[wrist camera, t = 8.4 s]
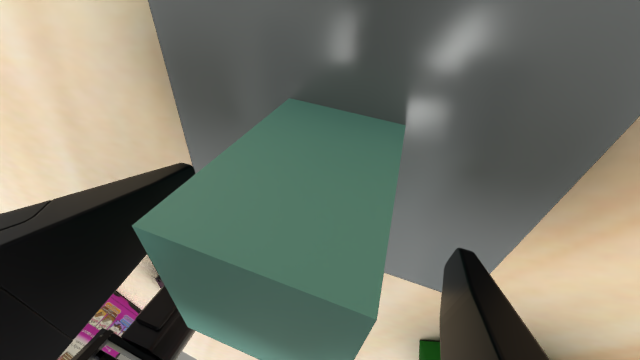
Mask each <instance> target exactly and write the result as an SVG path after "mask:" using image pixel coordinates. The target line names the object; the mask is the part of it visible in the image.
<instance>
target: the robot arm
mask: <svg viewBox="0 0 640 360" xmlns="http://www.w3.org/2000/svg"><path fill="white" fill-rule="evenodd" d="M195 174H196V173H195V169H194V167H193V166H191V165H188V164H185V163H178V164H175V165H171V166H168V167H164V168H161V169H157V170H154V171H150V172H147V173H143V174H140V175H136V176H133V177H129V178H126V179H122V180H119V181H115V182H112V183H108V184H105V185H102V186H98V187H95V188H91V189H88V190H84V191H81V192H77V193H74V194H70V195H67V196H63V197H60V198H56V199H53V200H52V201H51V200H49V201H46V202H42V203H39V204H35V205H32V206H28V207H24V208H21V209H17V210H13V211H10V212H6V213H2V214H0V360H57V359H58V358H59V357H60V356H61V355H62V353H63V352H64V351H65V350H66V349H67V347H68V346H69V345H70V344H71V343H72V342H73V339H75V338H76V337H77V335H78V334H79V333H80V332H81V331H82V330H83V328H84V327H85V326H86V325H87V324H88V323H89V321H90V320H91V319H92V318H93V317H94V316H95V314H96V313H97V312H98V311H99V310H100V309H101V307H102V306H103V305H104V304H105V303H106V301H107V300H108V299H109V298H110V297H111V296H112V294H113V293H114V292H115V291H116V290H117V289H118V287H119V286H120V285H121V284H122V283H123V282H124V280H125V279H126V278H127V277H128V276H129V275H130V273H131V272H132V271H133V270H134V269H135V268H136V266H137V265H138V264H139V263H140V262H141V260H142V259H143V258H144V257H145V256H146V255H147V252H146V251H145V249H144V247H143V245H142V243H141V241H140V240H139V238H138V236H137V234H136V232H135V231H134V229H133V227H132V225H133V224H134V223H136V222H137V221H138V220H139V219H141V218H142V217H143V216H144V215H146V214H147V213H148V212H149V211H150V210H152V209H153V208H154V207H155V206H157V205H158V204H159V203H160V202H162V201H163V200H164V199H165V198H167V197H168V196H169V195H170V194H171V193H173V192H174V191H175V190H176V189H178V188H179V187H180V186H181V185H183V184H184V183H185V182H186V181H188V180H189V179H190V178H191V177H193V176H194V175H195ZM156 281H157V283H158V284H159V286H160V288H161V289H160V291H159V292H158V293H157V294H156V295H155V296H154V297H153V298H152V300H151V301H150V302H149V303H148V304H147V305H146V306H145V308H144V309H143V310H142V311H141V312H140V313H139V314H138V316H137V317H136V318H135V320H134V321H133V323H132V324H131V325H130V326H129V327H128V328H127V329H126V331H125V332H124V333H123V334H122V335H121V337H122V338H121V337H120V336H118V335H116V334H115V333H114V331H112V330H111V329H109V330H107V329H104V328H102V329H101V330H100V331H99V332H98V333H97V334H96V335H95V336H94V337H93V338H92V339H91V340H90V341H89V342H88V343H87V344H86V345H85V346H84V347H83V348H82V349H81V350H80V351H79V352H78V353H77V354H76V355H75V356H74V357H73V358H72V359H71V360H118V359H117V358H115V357H113V356H111V355H110V354H108V353H106V352H105V351H103V350H102V349H103V348H104V346H105V345H107V346H109V347H110V348H112V349H114V350H115V351H117V352H119V353H120V354H122V355H124V356H126V357H127V358H129V359H131V360H176V359H177V357H178V356H179V354H180V353H181V352H182V350H183V349H184V347H185V346H186V344H187V343H188V341H189V340H190V338H191V337H192V335H193V334H194V332H195V330H193V329H191V328H189V327H187V325H186V323H185V321H184V319H183V318H182V316H181V314H180V312H179V310H178V308H177V307H176V305H175V303H174V301H173V299H172V298H171V296H170V294H169V292H168V290H167V289H166V287H165V285H164V283H163V281H162V280H161V278H160V276H159V275H158V276H157V277H156ZM440 350H441V360H550V359H549V358H548V356H547V355H546V354H545V352H544V351H543V349H542V348H541V346H540V345H539V344H538V342H537V341H536V339H535V338H534V337H533V335H532V334H531V332H530V331H529V329H528V328H527V327H526V325H525V324H524V322H523V321H522V319H521V318H520V317H519V315H518V314H517V312H516V311H515V310H514V308H513V307H512V305H511V304H510V302H509V301H508V300H507V298H506V297H505V295H504V294H503V292H502V291H501V290H500V288H499V287H498V285H497V284H496V283H495V281H494V280H493V278H492V277H491V275H490V274H489V273H488V271H487V270H486V268H485V267H484V265H483V264H482V263H481V261H480V260H479V258H478V257H477V256H476V254H475V253H474V252H472V251H470V250H467V249H463V248H457V249H456V250H455V251H454V252H453V254H452V255H451V257H450V258H449V259H448V261H447V262H446V264H445V267H444V274H443V285H442V297H441V308H440Z"/></svg>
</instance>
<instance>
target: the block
mask: <svg viewBox="0 0 640 360" xmlns="http://www.w3.org/2000/svg"><path fill="white" fill-rule="evenodd" d="M405 127H406V125H402V124H398V123H394V122H389V121H385V120H381V119H377V118H372V117H368V116H364V115H359V114H355V113H351V112H347V111H342V110H338V109H334V108H330V107H325V106H321V105H317V104H312V103H308V102H304V101H300V100H295V99H291V98H289V99H288V100H286V101H285V102H284V103H283V104H282V105H280V106H279V107H278V108H277V109H275V110H274V111H273V112H272V113H270V114H269V115H268V116H267V117H265V118H264V119H263V120H262V121H261V122H259V123H258V124H257V125H256V126H254V127H253V128H252V129H251V130H249V131H248V132H247V133H246V134H244V135H243V136H242V137H241V138H240V139H238V140H237V141H236V142H235V143H233V144H232V145H231V146H230V147H228V148H227V149H226V150H225V151H223V152H222V153H221V154H220V155H218V156H217V157H216V158H215V159H214V160H212V161H211V162H210V163H209V164H207V165H206V166H205V167H204V168H202V169H201V170H200V171H199V172H197V173H196V174H195V175H194V176H193V177H191V178H190V179H189V180H188V181H186V182H185V183H184V184H183V185H181V186H180V187H179V188H178V189H176V190H175V191H174V192H173V193H171V194H170V195H169V196H168V197H167V198H165V199H164V200H163V201H162V202H160V203H159V204H158V205H157V206H155V207H154V208H153V209H152V210H150V211H149V212H148V213H147V214H146V215H144V216H143V217H142V218H141V219H139V220H138V221H137V222H136V223H134V224H133V225H132V227H133V229H134V231H135V232H136V234H137V236H138V238H139V240H140V241H141V243H142V245H143V247H144V249H145V251H146V252H147V254H148V256H149V258H150V260H151V261H152V263H153V265H154V267H155V269H156V270H157V272H158V274H159V276H160V278H161V280H162V281H163V283H164V285H165V287H166V289H167V290H168V292H169V294H170V296H171V298H172V299H173V301H174V303H175V305H176V307H177V308H178V310H179V312H180V314H181V316H182V318H183V319H184V321H185V323H186V325H187V327H189V328H191V329H193V330H195V331H197V332H200V333H202V334H204V335H206V336H209V337H211V338H213V339H215V340H217V341H220V342H222V343H224V344H226V345H228V346H231V347H233V348H235V349H237V350H239V351H242V352H244V353H246V354H248V355H250V356H253V357H255V358H257V359H259V360H354V359H355V357H356V355H357V354H358V352H359V350H360V348H361V346H362V345H363V343H364V341H365V339H366V338H367V336H368V334H369V332H370V331H371V329H372V327H373V325H374V323H375V322H376V320H377V314H378V308H379V301H380V294H381V287H382V281H383V274H384V267H385V261H386V254H387V247H388V241H389V234H390V227H391V221H392V214H393V207H394V201H395V194H396V187H397V180H398V174H399V167H400V160H401V154H402V147H403V140H404V134H405Z"/></svg>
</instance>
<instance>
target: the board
mask: <svg viewBox="0 0 640 360" xmlns="http://www.w3.org/2000/svg"><path fill="white" fill-rule="evenodd" d="M148 2H149V6H150V9H151V13H152V17H153V21H154V24H155V28H156V32H157V35H158V39H159V43H160V46H161V50H162V54H163V58H164V61H165V65H166V69H167V72H168V76H169V80H170V83H171V87H172V91H173V95H174V98H175V102H176V106H177V109H178V113H179V117H180V120H181V124H182V128H183V132H184V135H185V139H186V143H187V146H188V150H189V154H190V157H191V161H192V165H193V167H194V169H195V173H197V172H199V171H200V170H201V169H202V168H204V167H205V166H206V165H207V164H209V163H210V162H211V161H212V160H214V159H215V158H216V157H217V156H218V155H220V154H221V153H222V152H223V151H225V150H226V149H227V148H228V147H230V146H231V145H232V144H233V143H235V142H236V141H237V140H238V139H240V138H241V137H242V136H243V135H244V134H246V133H247V132H248V131H249V130H251V129H252V128H253V127H254V126H256V125H257V124H258V123H259V122H261V121H262V120H263V119H264V118H265V117H267V116H268V115H269V114H270V113H272V112H273V111H274V110H275V109H277V108H278V107H279V106H280V105H282V104H283V103H284V102H285V101H286V100H288V99H289V98H291V99H295V100H300V101H304V102H308V103H312V104H317V105H321V106H325V107H330V108H334V109H338V110H342V111H347V112H351V113H355V114H359V115H364V116H368V117H372V118H377V119H381V120H385V121H389V122H394V123H398V124H402V125H406V127H405V134H404V140H403V147H402V154H401V160H400V167H399V174H398V180H397V187H396V194H395V201H394V207H393V214H392V221H391V227H390V234H389V241H388V247H387V254H386V261H385V267H384V273H387V274H390V275H393V276H396V277H399V278H401V279H404V280H407V281H410V282H413V283H416V284H419V285H422V286H425V287H428V288H431V289H434V290H436V291H439V292H442V285H443V274H444V267H445V264H446V262H447V261H448V259H449V258H450V257H451V255H452V254H453V252H454V251H455V250H456V249H457V248H463V249H467V250H470V251H472V252H474V253H475V254H476V256H477V257H478V258H479V260H480V261H481V263H482V264H483V265H484V267H485V268H486V270H487V271H488V273H489V274H490V273H491V272H492V271H493V270H494V269H495V268H496V267H497V266H498V265H499V264H500V263H501V262H502V260H503V259H504V258H505V257H506V256H507V255H508V254H509V253H510V252H511V251H512V250H513V249H514V248H515V247H516V246H517V245H518V244H519V243H520V242H521V240H522V239H523V238H524V237H525V236H526V235H527V234H528V233H529V232H530V231H531V230H532V229H533V228H534V227H535V226H536V225H537V224H538V223H539V222H540V220H541V219H542V218H543V217H544V216H545V215H546V214H547V213H548V212H549V211H550V210H551V209H552V208H553V207H554V206H555V205H556V204H557V203H558V202H559V200H560V199H561V198H562V197H563V196H564V195H565V194H566V193H567V192H568V191H569V190H570V189H571V188H572V187H573V186H574V185H575V184H576V183H577V182H578V180H579V179H580V178H581V177H582V176H583V175H584V174H585V173H586V172H587V171H588V170H589V169H590V168H591V167H592V166H593V165H594V164H595V163H596V161H597V160H598V159H599V158H600V157H601V156H602V155H603V154H604V153H605V152H606V151H607V150H608V149H609V148H610V147H611V146H612V145H613V144H614V143H615V141H616V140H617V139H618V138H619V137H620V136H621V135H622V134H623V133H624V132H625V131H626V130H627V129H628V128H629V127H630V126H631V125H632V124H633V123H634V121H635V120H636V119H637V118H638V117H639V116H640V0H148Z"/></svg>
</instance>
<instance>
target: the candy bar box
mask: <svg viewBox="0 0 640 360" xmlns="http://www.w3.org/2000/svg"><path fill="white" fill-rule="evenodd" d="M140 312H141V310H140V309H138V308H137V307H136V306H134V305H133V304H132V303H130V302H129V301H128V300H126V299H125V298H124V297H122V296H121V295H120V294H118V293H117V292H116V291H115V292H114V293H113V294H112V296H111V297H110V298H109V299H108V300H107V301H106V303H105V304H104V305H103V306H102V307H101V309H100V310H99V311H98V312H97V313H96V314H95V316H94V317H93V318H92V319H91V320H90V321H89V323H88V324H87V325H86V326H85V327H84V328H83V330H82V331H81V332H80V333H79V334H78V335H77V337H76V338H75V339H73V342H72V343H71V344H70V345H69V346H68V347H67V349H66V350H65V351H64V352H63V353H62V355H61V356H60V357H59V358H58V359H57V360H71V359H72V358H73V357H74V356H75V355H76V354H77V353H78V352H79V351H80V350H81V349H82V348H83V347H84V346H85V345H86V344H87V343H88V342H89V341H90V340H91V339H92V338H93V337H94V336H95V335H96V334H97V333H98V332H99V331H100V330H101V329H102V328H104V329H107V330H109V329H111V330H112V331H114V333H115V334H116V335H118V336H120V337H121V335H122V334H123V333H124V332H125V331H126V329H127V328H128V327H129V326H130V325H131V324H132V323H133V321H134V320H135V318H136V317H137V316H138V314H139V313H140ZM121 338H122V337H121ZM102 350H103V351H105V352H106V353H108V354H110V355H111V356H113V357H115V358H117V357H118V356H119V355H120V353H119V352H117V351H115V350H114V349H112V348H110V347H109V346H107V345H105V346H104V348H103V349H102Z"/></svg>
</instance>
